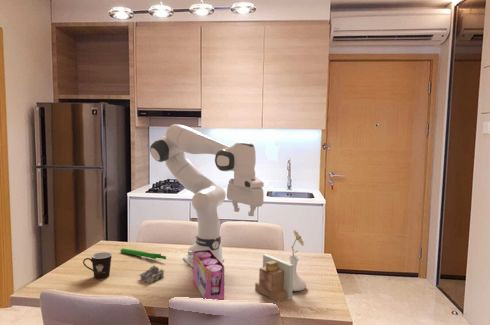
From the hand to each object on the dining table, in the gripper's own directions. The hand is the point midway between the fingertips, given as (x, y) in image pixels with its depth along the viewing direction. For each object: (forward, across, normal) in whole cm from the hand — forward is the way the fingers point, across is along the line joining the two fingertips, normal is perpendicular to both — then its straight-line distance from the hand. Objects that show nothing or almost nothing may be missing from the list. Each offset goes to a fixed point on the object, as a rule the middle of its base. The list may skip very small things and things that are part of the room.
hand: (243, 213), depth 155 cm
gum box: (+33, -9, -11) cm, 36 cm away
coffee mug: (+33, -50, -43) cm, 74 cm away
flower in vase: (+33, +11, +20) cm, 40 cm away
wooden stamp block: (+30, +11, +7) cm, 33 cm away
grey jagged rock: (+34, -34, -25) cm, 54 cm away
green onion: (+34, -62, -16) cm, 72 cm away
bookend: (+33, +10, +8) cm, 36 cm away
